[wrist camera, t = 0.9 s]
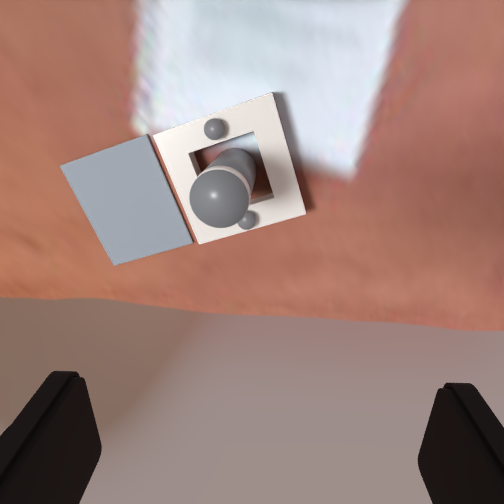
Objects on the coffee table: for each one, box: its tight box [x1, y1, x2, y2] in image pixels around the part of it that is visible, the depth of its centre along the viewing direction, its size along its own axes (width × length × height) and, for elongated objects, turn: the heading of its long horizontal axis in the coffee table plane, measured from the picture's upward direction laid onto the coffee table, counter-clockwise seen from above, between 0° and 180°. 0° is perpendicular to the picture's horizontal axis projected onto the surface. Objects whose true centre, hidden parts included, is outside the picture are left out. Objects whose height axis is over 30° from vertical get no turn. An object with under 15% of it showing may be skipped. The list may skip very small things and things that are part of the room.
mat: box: [60, 135, 193, 265], centre depth 38 cm, size 10×12×1 cm
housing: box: [153, 92, 306, 244], centre depth 34 cm, size 12×12×3 cm
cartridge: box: [189, 148, 257, 228], centre depth 31 cm, size 5×5×10 cm
